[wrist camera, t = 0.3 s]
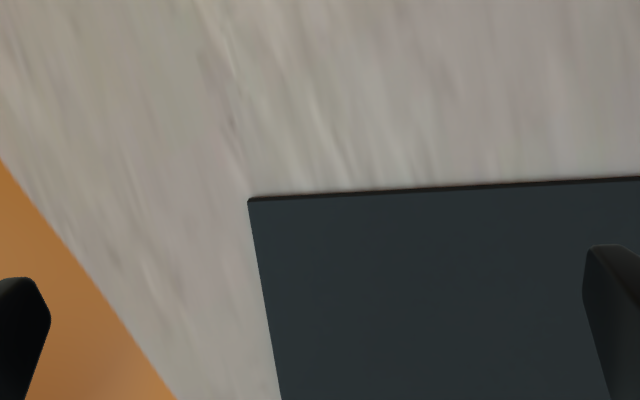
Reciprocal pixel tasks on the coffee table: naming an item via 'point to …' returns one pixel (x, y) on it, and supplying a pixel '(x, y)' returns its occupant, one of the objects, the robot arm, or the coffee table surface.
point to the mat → (438, 289)
